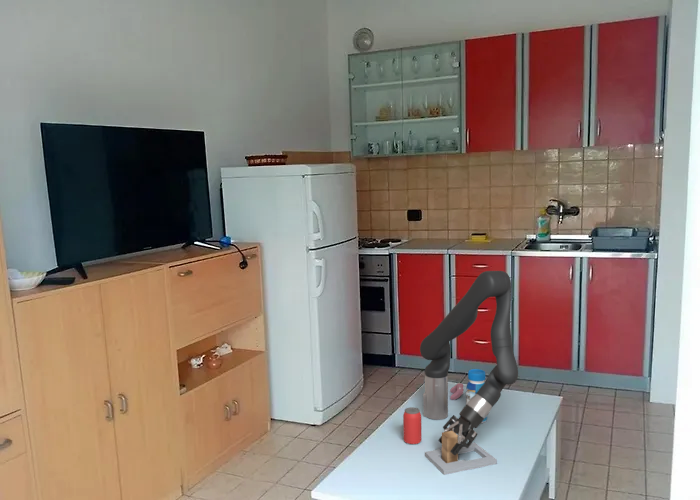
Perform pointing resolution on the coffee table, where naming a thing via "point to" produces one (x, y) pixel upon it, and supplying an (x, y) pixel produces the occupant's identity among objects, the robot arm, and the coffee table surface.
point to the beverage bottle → (475, 384)
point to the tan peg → (449, 446)
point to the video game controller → (457, 391)
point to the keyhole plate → (461, 465)
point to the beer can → (412, 425)
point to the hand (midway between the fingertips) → (446, 448)
